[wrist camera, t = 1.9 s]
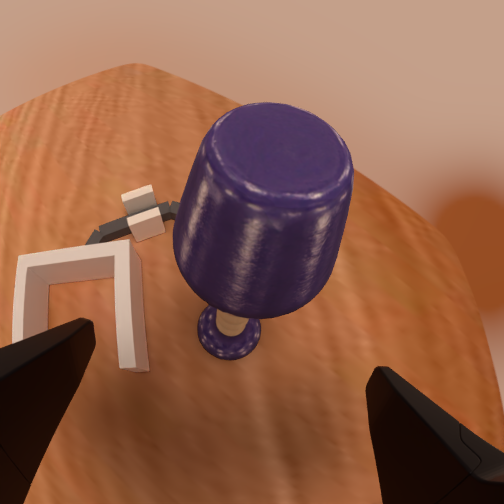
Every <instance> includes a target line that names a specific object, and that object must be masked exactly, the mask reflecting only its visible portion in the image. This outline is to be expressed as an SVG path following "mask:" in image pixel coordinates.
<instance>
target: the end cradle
mask: <svg viewBox="0 0 504 504" xmlns="http://www.w3.org/2000/svg"><path fill="white" fill-rule="evenodd" d="M112 277H115V313H116V332H117V346H118V357H119V368H121V369H124V370H128V371H132V372H148V371H150V368H149V360H148V351H147V341H146V331H145V319H144V305H143V289H142V266H141V260H140V258H139V256H138V254H137V253H136V251H135V249H134V247H133V245H132V243H131V241H130V239H128V240H120V241H113V242H106V243H99V244H92V245H85V246H78V247H71V248H64V249H58V250H51V251H45V252H38V253H32V254H26V255H20V256H18V264H17V272H16V281H15V291H14V304H13V326H12V344H13V343H15V342H18V341H21V340H23V339H26V338H28V337H31V336H34V335H36V334H39V333H42V332H44V331H47V330H48V297H49V285H50V284H59V283H68V282H77V281H86V280H95V279H103V278H112Z"/></svg>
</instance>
